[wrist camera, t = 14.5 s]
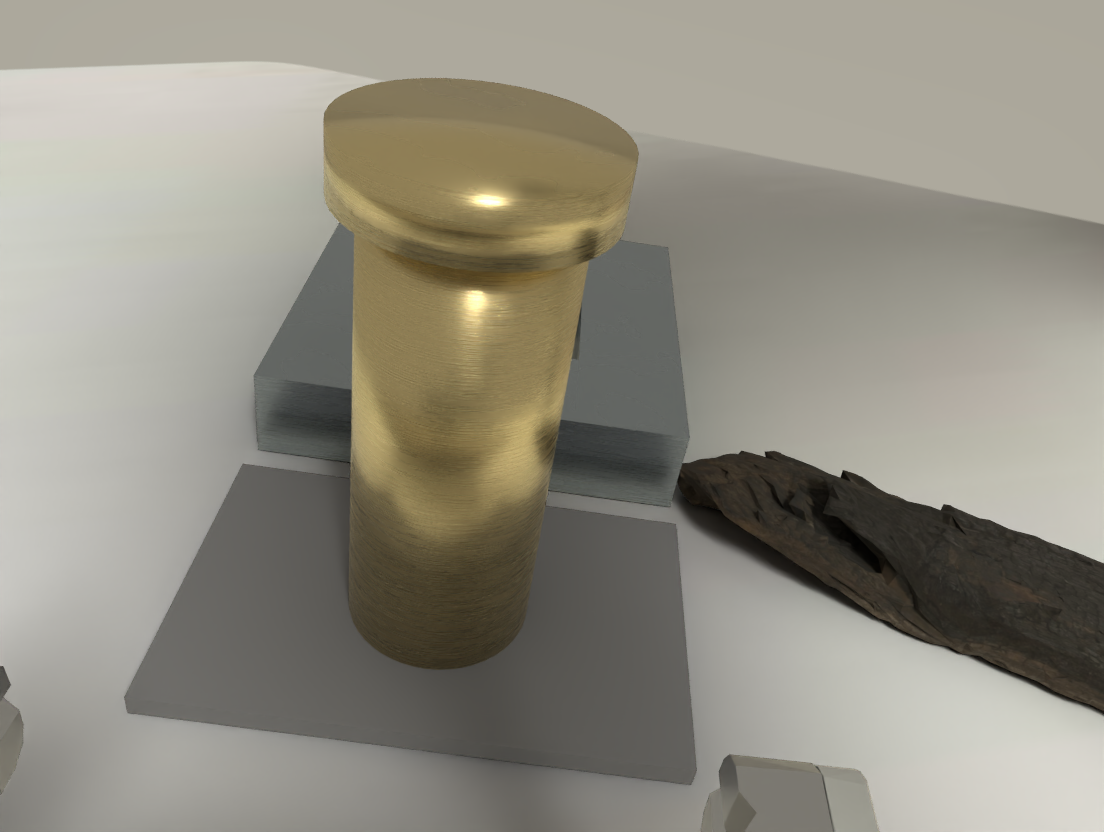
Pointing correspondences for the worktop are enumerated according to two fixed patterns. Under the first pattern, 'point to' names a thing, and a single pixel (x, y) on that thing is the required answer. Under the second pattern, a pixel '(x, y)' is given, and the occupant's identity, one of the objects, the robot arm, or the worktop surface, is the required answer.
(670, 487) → the housing
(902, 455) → the worktop surface
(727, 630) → the worktop surface
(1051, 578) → the wood
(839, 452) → the worktop surface
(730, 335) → the worktop surface
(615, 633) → the mat
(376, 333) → the round headed pin
